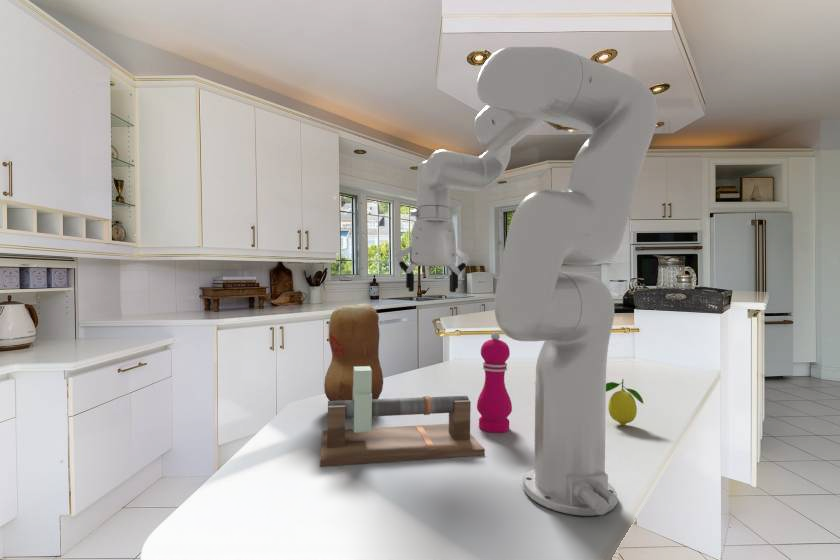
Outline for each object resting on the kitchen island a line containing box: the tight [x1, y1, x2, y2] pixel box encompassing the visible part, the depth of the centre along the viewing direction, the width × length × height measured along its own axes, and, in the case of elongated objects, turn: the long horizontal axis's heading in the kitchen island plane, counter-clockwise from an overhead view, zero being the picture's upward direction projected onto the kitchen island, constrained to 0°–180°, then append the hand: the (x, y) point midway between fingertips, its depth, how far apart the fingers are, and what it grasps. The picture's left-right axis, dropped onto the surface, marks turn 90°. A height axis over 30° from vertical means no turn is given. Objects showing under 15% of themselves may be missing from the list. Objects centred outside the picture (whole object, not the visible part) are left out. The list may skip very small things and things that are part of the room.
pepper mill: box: [476, 331, 513, 434], centre depth 87 cm, size 7×7×20 cm
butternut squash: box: [323, 303, 384, 401], centre depth 97 cm, size 14×13×25 cm
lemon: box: [606, 378, 644, 426], centre depth 90 cm, size 7×6×10 cm
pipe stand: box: [319, 395, 486, 467], centre depth 77 cm, size 14×28×9 cm, turn 102°
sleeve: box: [351, 366, 373, 433], centre depth 76 cm, size 6×3×10 cm, turn 12°
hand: (431, 291), depth 95 cm, fingers open, 9 cm apart
